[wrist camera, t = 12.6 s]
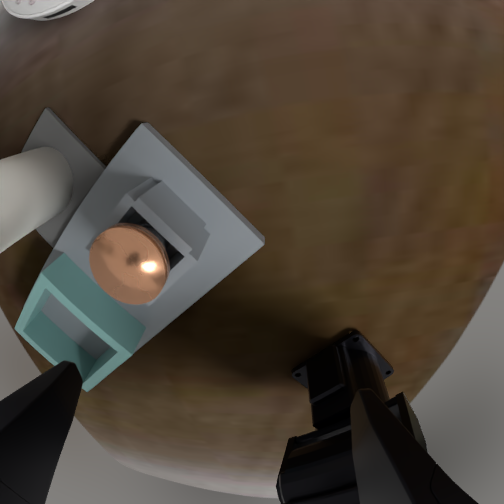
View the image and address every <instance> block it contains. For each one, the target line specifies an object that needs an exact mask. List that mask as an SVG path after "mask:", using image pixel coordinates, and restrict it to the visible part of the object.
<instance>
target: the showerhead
mask: <svg viewBox="0 0 504 504" xmlns="http://www.w3.org/2000/svg"><path fill="white" fill-rule="evenodd" d="M1 1H2V3H3V6H4V7H5V9H6V10H7V11H8V12H9V13H10V14H11V15H13V16H15V17H19V18H24V19H32V20H39V21H46V20H52V19H57V18H60V17H63V16H66V15H68V14H71V13H73V12H75V11H77V10H79V9H81V8H83V7H85V6H86V5H88V4H90V3H91V2H93V1H94V0H1Z"/></svg>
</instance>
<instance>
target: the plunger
mask: <svg viewBox="0 0 504 504" xmlns="http://www.w3.org/2000/svg"><path fill="white" fill-rule="evenodd" d="M170 244H171V243H169V242H168V241H167V240H166V239H165V238H164V237H163V236H162V235H161V234H160V233H159V232H158V231H157V230H156V229H155V228H154V227H153V226H152V225H150V224H149V223H148V222H147V221H146V220H145V219H143V220H142V221H140V222H139V223H138V224H134V223H127V222H125V223H117V224H114V225H112V226H110V227H108V228H107V229H106V230H105V231H104V232H102V233H101V234H100V235H99V236H98V237H97V238H96V239H95V240H94V242H93V244H92V246H91V249H90V254H89V262H90V268H91V271H92V274H93V276H94V278H95V280H96V281H97V283H98V284H99V286H100V287H101V288H102V289H103V290H104V291H105V292H106V293H107V294H109V295H110V296H111V297H113V298H114V299H116V300H118V301H121V302H123V303H127V304H134V305H138V304H144V303H147V302H150V301H152V300H153V299H155V298H156V297H157V296H158V295H159V293H160V292H161V290H162V289H163V287H164V285H165V283H166V281H167V279H168V276H169V271H170V263H169V258H168V254H167V252H166V249H167V248H168V246H169V245H170Z"/></svg>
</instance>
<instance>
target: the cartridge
mask: <svg viewBox="0 0 504 504" xmlns="http://www.w3.org/2000/svg"><path fill="white" fill-rule="evenodd" d="M72 194H73V175H72V171H71V168H70V166H69V164H68V162H67V160H66V158H65V157H64V156H63V155H62V154H61V153H60V152H59V151H58V150H56V149H54V148H52V147H40V148H37V149H33V150H30V151H26V152H23V153H20V154H16V155H13V156H10V157H7V158H4V159H1V160H0V253H1V252H3V251H4V250H5V249H7V248H8V247H10V246H11V245H12V244H14V243H15V242H17V241H18V240H20V239H21V238H22V237H24V236H25V235H27V234H28V233H30V232H31V231H33V230H34V229H36V228H37V227H39V226H40V225H42V224H44V223H45V222H47V221H48V220H50V219H51V218H53V217H55V216H56V215H58V214H59V213H61V212H62V211H64V210H65V209H66V207H67V206H68V204H69V203H70V200H71V198H72Z"/></svg>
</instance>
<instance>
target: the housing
mask: <svg viewBox="0 0 504 504" xmlns="http://www.w3.org/2000/svg"><path fill="white" fill-rule="evenodd" d="M143 219H145V220H146V221H147V222H148V223H149V224H150V225H152V226H153V227H154V228H155V229H156V230H157V231H158V232H159V233H160V234H161V235H162V236H163V237H164V238H165V239H166V240H167V241H168V242H169V243H171V244H170V245H169V246H168V248H167V249H166V252H167V254H168V258H169V263H170V271H169V276H168V279H167V281H166V283H165V285H164V287H163V289H162V290H161V292H160V293H159V295H158V296H157V297H156V298H155V299H153V300H152V301H150V302H147V303H144V304H138V305H134V304H127V303H123V302H121V301H118V300H116V299H114V298H113V297H111V296H110V295H109V294H107V293H106V292H105V291H104V290H103V289H102V288H101V287H100V286H99V284H98V283H97V281H96V280H95V278H94V276H93V274H92V271H91V268H90V262H89V254H90V249H91V246H92V244H93V242H94V240H95V239H96V238H97V237H98V236H99V235H100V234H101V233H102V232H104V231H105V230H106V229H107V228H108V227H110V226H112V225H114V224H117V223H125V222H127V223H134V224H138V223H139V222H140V221H142V220H143ZM264 244H265V237H264V236H263V235H262V234H261V233H260V232H259V231H258V230H257V229H256V228H255V227H254V226H253V225H252V224H251V223H250V222H249V221H248V220H247V219H246V218H245V217H244V216H243V215H242V214H241V213H240V212H239V211H238V210H237V209H236V208H235V207H234V206H233V205H232V204H231V203H230V202H229V201H228V200H227V199H226V198H225V197H224V196H223V195H222V194H221V193H220V192H219V191H218V190H217V189H216V188H215V187H214V186H213V185H212V184H211V183H210V182H209V181H208V180H207V179H206V178H205V177H204V176H202V175H201V174H200V173H199V172H198V171H197V170H196V169H195V168H194V167H193V166H192V165H191V164H190V163H189V162H188V161H187V160H186V159H185V158H184V157H183V156H182V155H181V154H180V153H179V152H178V151H177V150H176V149H175V148H174V147H173V146H172V145H171V144H170V143H169V142H168V141H167V140H166V139H165V138H164V137H162V136H161V135H160V134H159V133H158V132H157V131H156V130H155V129H154V128H153V127H152V126H151V125H150V124H149V123H148V122H147V123H141V124H140V126H139V127H138V128H137V129H136V130H135V132H134V133H133V134H132V135H131V136H130V138H129V139H128V140H127V141H126V143H125V144H124V145H123V146H122V148H121V149H120V150H119V151H118V153H117V154H116V155H115V157H114V158H113V159H112V161H111V162H110V163H109V165H108V166H107V167H106V169H105V170H104V171H103V173H102V174H101V176H100V177H99V178H98V180H97V181H96V183H95V184H94V185H93V187H92V188H91V190H90V191H89V193H88V194H87V196H86V197H85V199H84V200H83V202H82V203H81V205H80V206H79V208H78V209H77V211H76V212H75V214H74V215H73V217H72V218H71V220H70V222H69V223H68V225H67V227H66V228H65V230H64V231H63V233H62V235H61V236H60V238H59V240H58V242H57V243H56V245H55V247H54V248H53V250H52V252H51V254H50V256H49V257H48V259H47V261H46V263H45V265H44V266H43V268H42V270H41V272H40V274H39V276H38V278H37V280H36V282H35V284H34V286H33V288H32V290H31V292H30V294H29V296H28V298H27V300H26V302H25V304H24V308H23V310H22V313H21V315H20V317H19V319H18V321H17V324H16V326H15V328H14V329H15V330H16V331H17V332H18V333H19V334H20V335H21V336H22V337H23V338H24V339H25V340H26V341H27V342H29V343H30V344H31V345H32V346H33V347H34V348H35V349H36V350H37V351H38V352H39V353H40V354H42V355H43V356H44V357H45V358H46V359H47V360H48V361H49V362H51V363H52V364H53V365H54V366H55V365H57V364H59V363H60V362H62V361H64V360H67V361H71V362H74V363H75V364H76V365H77V368H78V370H79V372H80V374H81V376H82V379H83V385H82V389H84V390H85V391H86V392H88V391H89V390H90V389H92V388H93V387H94V386H95V385H97V384H98V383H99V382H100V381H101V380H103V379H104V378H105V377H106V376H107V375H109V374H110V373H111V372H112V371H114V370H115V369H116V368H117V367H118V366H120V365H121V364H122V363H123V362H124V361H126V360H127V359H128V358H129V357H130V356H132V355H133V353H135V352H136V351H137V350H138V349H139V348H141V347H142V346H143V345H144V344H145V343H147V342H148V341H149V340H150V339H151V338H153V337H154V336H155V335H156V334H157V333H159V332H160V331H161V330H162V329H163V328H165V327H166V326H167V325H168V324H169V323H171V322H172V321H173V320H174V319H175V318H177V317H178V316H179V315H180V314H181V313H183V312H184V311H185V310H186V309H188V308H189V307H190V306H191V305H192V304H194V303H195V302H196V301H197V300H198V299H200V298H201V297H202V296H203V295H204V294H206V293H207V292H208V291H209V290H210V289H212V288H213V287H214V286H215V285H216V284H218V283H219V282H220V281H221V280H222V279H224V278H225V277H226V276H227V275H228V274H230V273H231V272H232V271H233V270H234V269H236V268H237V267H238V266H239V265H240V264H242V263H243V262H244V261H245V260H246V259H248V258H249V257H250V256H251V255H252V254H254V253H255V252H256V251H257V250H258V249H260V248H261V247H262V246H263V245H264Z"/></svg>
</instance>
